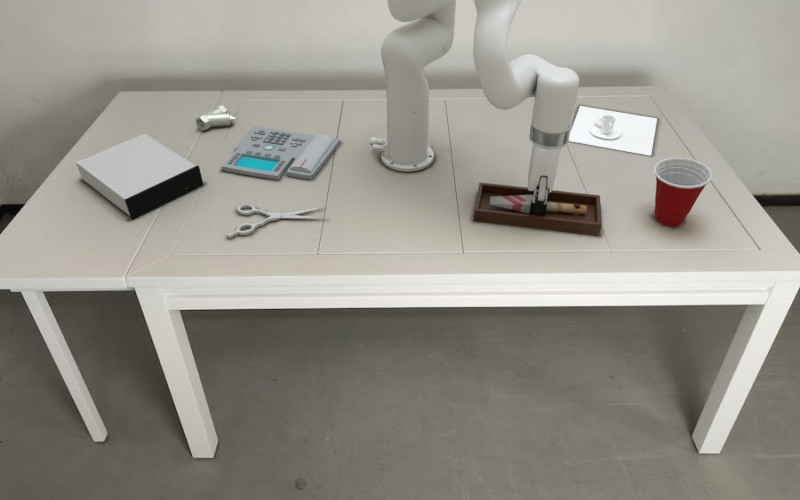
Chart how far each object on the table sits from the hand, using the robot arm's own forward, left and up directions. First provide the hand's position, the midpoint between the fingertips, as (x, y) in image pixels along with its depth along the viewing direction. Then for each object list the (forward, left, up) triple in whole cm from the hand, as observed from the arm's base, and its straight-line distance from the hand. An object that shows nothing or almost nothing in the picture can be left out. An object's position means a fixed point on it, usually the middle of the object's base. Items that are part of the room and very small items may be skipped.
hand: (537, 208), depth 134 cm
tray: (0, 0, -1) cm, 1 cm away
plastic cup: (+27, +4, -2) cm, 27 cm away
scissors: (-53, -12, -1) cm, 54 cm away
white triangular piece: (+18, +41, -2) cm, 44 cm away
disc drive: (-88, -5, -2) cm, 88 cm away
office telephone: (-61, +12, -2) cm, 62 cm away
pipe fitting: (-82, +23, -2) cm, 85 cm away
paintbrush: (0, 0, -1) cm, 1 cm away
